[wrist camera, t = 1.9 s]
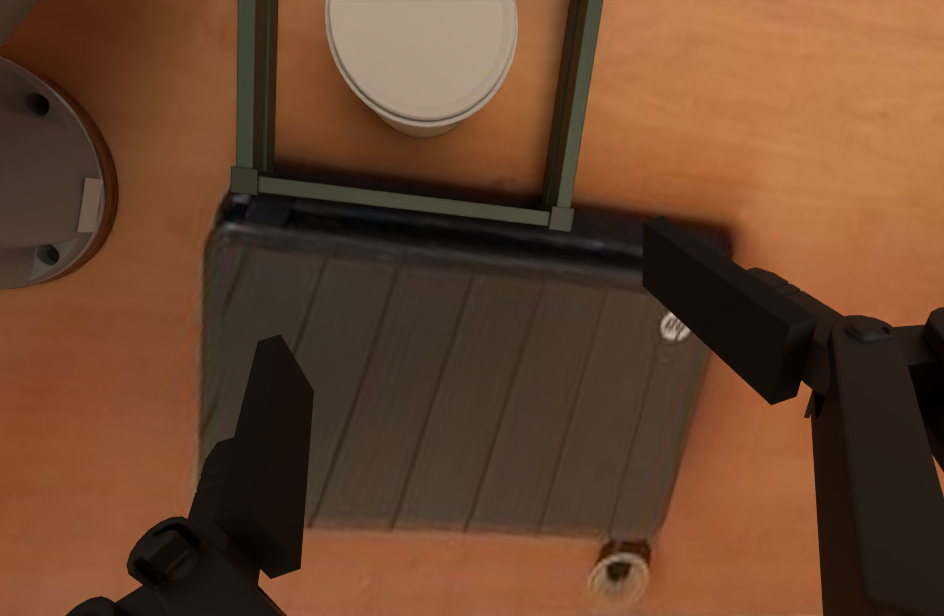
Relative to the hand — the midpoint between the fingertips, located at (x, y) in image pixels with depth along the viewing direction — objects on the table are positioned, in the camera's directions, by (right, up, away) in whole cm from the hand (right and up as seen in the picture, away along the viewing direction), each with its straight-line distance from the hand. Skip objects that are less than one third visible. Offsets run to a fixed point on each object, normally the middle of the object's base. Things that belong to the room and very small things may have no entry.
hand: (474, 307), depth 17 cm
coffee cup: (-4, +16, +17) cm, 24 cm away
